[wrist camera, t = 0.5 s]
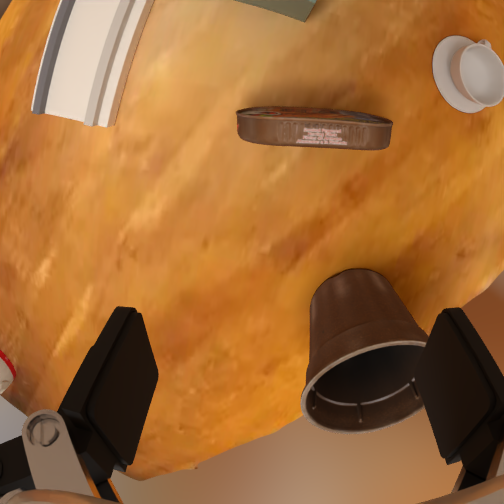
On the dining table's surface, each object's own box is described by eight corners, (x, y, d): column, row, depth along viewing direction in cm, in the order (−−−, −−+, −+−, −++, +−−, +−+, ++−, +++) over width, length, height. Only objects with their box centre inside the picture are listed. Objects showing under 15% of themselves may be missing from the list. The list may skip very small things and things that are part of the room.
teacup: (480, 126, 30) (501, 132, 26) (420, 88, 29) (440, 89, 25) (498, 63, 25) (520, 63, 21) (441, 21, 24) (461, 15, 20)
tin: (377, 114, 31) (407, 121, 23) (375, 141, 32) (404, 156, 25) (239, 106, 31) (231, 109, 24) (239, 134, 33) (231, 146, 26)
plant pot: (286, 344, 47) (290, 437, 32) (300, 249, 39) (317, 342, 25) (385, 345, 46) (413, 428, 32) (417, 257, 39) (473, 337, 25)
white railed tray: (109, -80, 18) (98, -89, 15) (194, -80, 20) (188, -92, 17) (40, 108, 31) (25, 111, 28) (114, 125, 32) (101, 128, 30)
